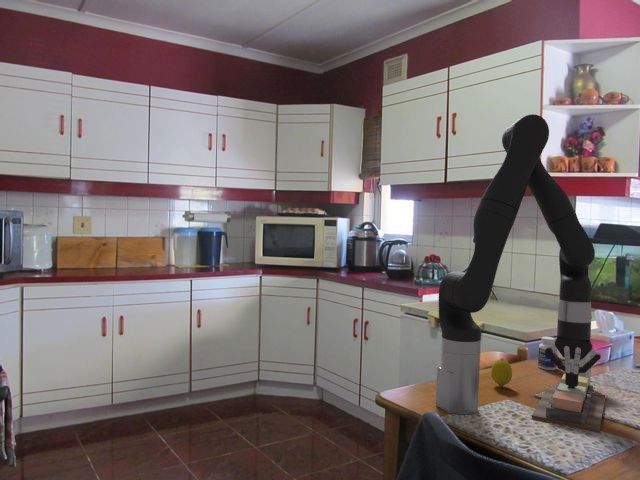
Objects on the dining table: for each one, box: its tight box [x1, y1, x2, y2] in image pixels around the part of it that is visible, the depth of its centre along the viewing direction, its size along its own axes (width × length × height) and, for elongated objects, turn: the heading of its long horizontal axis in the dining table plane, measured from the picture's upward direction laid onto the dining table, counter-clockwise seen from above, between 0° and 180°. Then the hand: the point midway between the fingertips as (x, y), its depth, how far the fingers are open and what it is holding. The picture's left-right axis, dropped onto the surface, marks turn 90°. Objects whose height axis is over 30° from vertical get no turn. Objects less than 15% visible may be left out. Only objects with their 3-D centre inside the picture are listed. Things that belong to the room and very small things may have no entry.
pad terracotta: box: [552, 391, 583, 413], centre depth 124 cm, size 6×6×3 cm
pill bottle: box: [537, 336, 558, 371], centre depth 169 cm, size 5×5×10 cm
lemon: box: [490, 357, 513, 388], centre depth 148 cm, size 6×6×8 cm
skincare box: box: [571, 352, 592, 385], centre depth 148 cm, size 6×4×12 cm
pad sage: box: [557, 383, 586, 402], centre depth 132 cm, size 6×6×3 cm
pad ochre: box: [560, 373, 589, 392], centre depth 140 cm, size 6×6×3 cm
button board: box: [531, 379, 606, 433], centre depth 132 cm, size 28×14×3 cm, turn 149°
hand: (571, 387), depth 132 cm, fingers closed
